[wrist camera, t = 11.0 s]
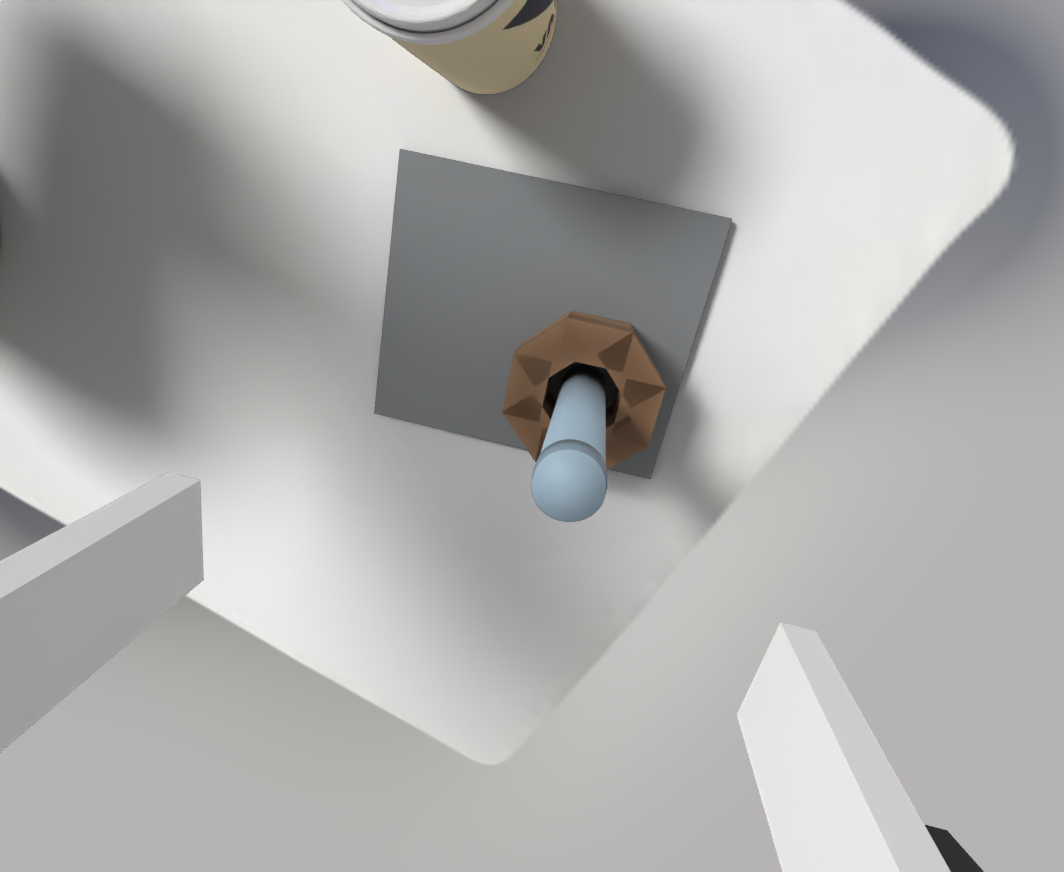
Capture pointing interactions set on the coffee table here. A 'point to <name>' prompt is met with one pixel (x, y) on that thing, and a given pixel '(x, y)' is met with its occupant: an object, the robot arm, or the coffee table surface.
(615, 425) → the bead
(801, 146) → the coffee table surface
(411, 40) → the coffee cup
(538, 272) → the mat
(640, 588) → the coffee table surface
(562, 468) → the blue rounded-end rod
